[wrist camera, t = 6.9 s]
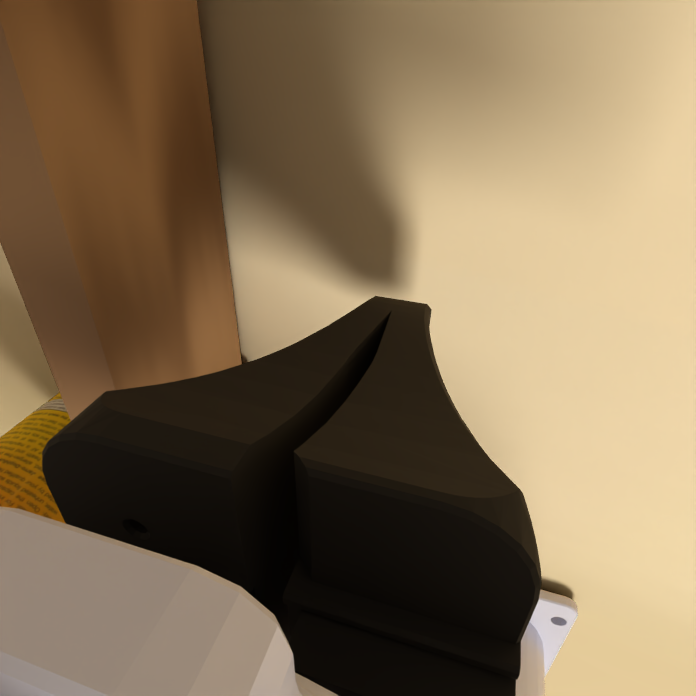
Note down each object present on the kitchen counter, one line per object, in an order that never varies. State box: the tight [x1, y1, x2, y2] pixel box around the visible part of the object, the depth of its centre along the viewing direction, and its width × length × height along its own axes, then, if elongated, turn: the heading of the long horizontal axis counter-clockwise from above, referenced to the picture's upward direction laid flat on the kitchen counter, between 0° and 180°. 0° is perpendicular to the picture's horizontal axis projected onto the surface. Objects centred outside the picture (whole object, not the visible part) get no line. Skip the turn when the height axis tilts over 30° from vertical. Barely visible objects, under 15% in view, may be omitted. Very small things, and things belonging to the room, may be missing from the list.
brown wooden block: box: [0, 0, 242, 421], centre depth 11 cm, size 12×2×6 cm, turn 179°
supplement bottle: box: [0, 392, 71, 524], centre depth 16 cm, size 5×5×10 cm
